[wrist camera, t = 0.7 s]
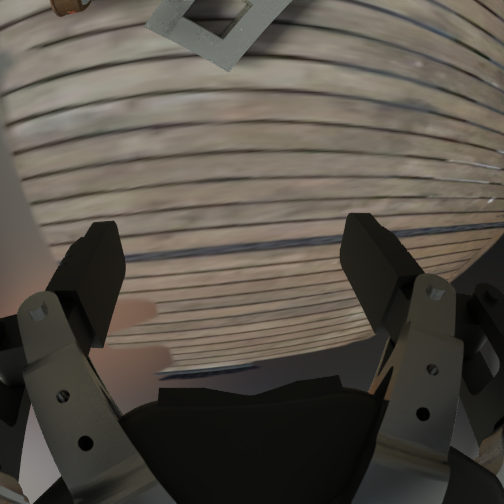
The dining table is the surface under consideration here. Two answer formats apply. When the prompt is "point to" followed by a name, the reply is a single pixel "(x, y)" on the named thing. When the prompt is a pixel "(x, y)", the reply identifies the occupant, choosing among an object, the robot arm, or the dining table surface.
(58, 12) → the tin
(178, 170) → the dining table surface
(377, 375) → the robot arm
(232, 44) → the rail
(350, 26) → the dining table surface
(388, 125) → the dining table surface
